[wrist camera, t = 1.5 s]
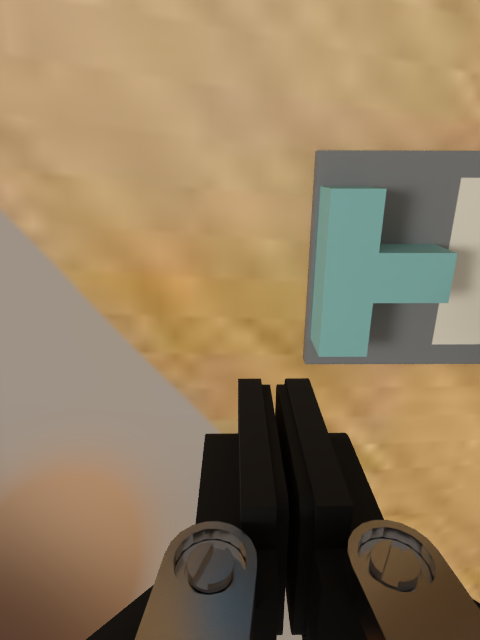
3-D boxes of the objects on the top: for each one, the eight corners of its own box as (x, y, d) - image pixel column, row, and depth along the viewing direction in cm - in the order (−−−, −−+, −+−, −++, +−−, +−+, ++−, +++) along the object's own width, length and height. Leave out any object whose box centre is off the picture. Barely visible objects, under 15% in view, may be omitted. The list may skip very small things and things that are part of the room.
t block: (418, 337, 29) (438, 356, 26) (310, 338, 29) (318, 356, 26) (443, 186, 25) (469, 188, 22) (320, 186, 25) (331, 188, 22)
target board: (547, 357, 30) (557, 363, 30) (303, 358, 30) (305, 364, 29) (606, 151, 26) (620, 151, 25) (315, 151, 25) (318, 150, 24)
